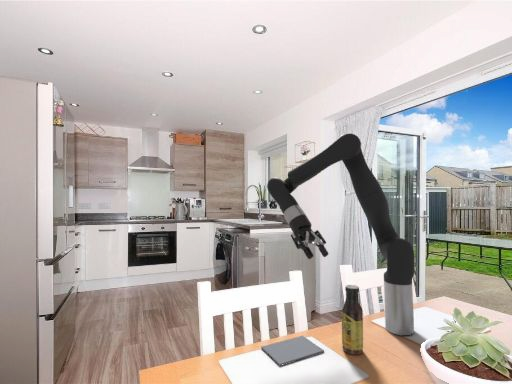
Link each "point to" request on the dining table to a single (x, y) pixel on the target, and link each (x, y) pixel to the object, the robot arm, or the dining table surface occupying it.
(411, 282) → the robot arm
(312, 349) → the gray mat
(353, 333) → the sauce bottle
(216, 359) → the dining table surface
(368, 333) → the dining table surface
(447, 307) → the dining table surface
